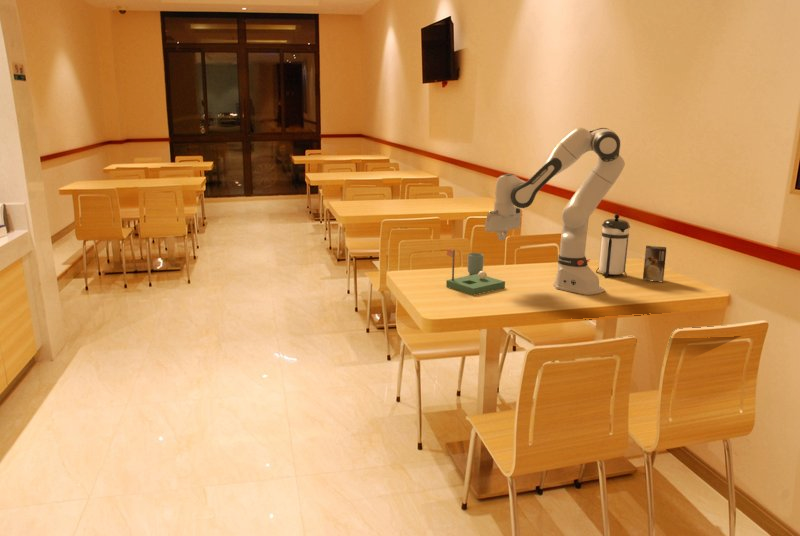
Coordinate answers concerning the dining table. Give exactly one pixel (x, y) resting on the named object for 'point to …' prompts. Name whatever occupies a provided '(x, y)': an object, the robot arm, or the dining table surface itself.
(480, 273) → the ball
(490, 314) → the dining table surface
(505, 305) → the dining table surface
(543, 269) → the dining table surface
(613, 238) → the coffee press
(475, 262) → the cup
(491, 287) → the putting green
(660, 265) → the coffee box
